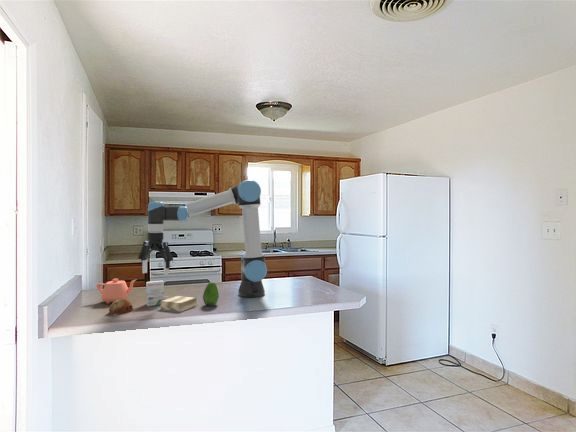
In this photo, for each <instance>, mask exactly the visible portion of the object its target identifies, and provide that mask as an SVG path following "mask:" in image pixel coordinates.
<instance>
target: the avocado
mask: <svg viewBox="0 0 576 432" xmlns="http://www.w3.org/2000/svg"><path fill="white" fill-rule="evenodd" d="M219 295H220V293H219V290H218V286H217V284H216V282H208V283H207V285H206V287H205V289H204V291H203V295H202V301H203V303H204V304H205V306H207V307H213V306H215V305H217V304H218V301H219V298H220V297H219Z"/></svg>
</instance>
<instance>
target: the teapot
mask: <svg viewBox="0 0 576 432" xmlns="http://www.w3.org/2000/svg"><path fill="white" fill-rule="evenodd" d="M137 280H138V279H132V280H131V281H130V283H129V287H128V285H127V283H126V281H125V280H119V278H113V279H112V280H110V281H107V282H105V283H102V282H100V283H96V288H97V290H98V291H99V292H100V294H101V299H102V301H103V302H105V304H107V305H111V304H112V303H113V302H114V301H116V300H118V299H124V300H127V299H128V297H129V295H130V294H131V293H132V291H133V289H134V283H135V282H136V281H137ZM102 286H103V289H102Z"/></svg>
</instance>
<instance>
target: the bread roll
mask: <svg viewBox="0 0 576 432" xmlns="http://www.w3.org/2000/svg"><path fill="white" fill-rule="evenodd" d="M109 305H110V306H109V308H108V311H109V312H108V313H109V314H110V315H113V314H118V315H119V314H128V313H130V312H132V311H133V310H134V308H133V307H134V305H133V303H131V302H130V301H128V300H127V299H126V300H124V299H118V300H116V301H114V302H111V303H110V304H109Z"/></svg>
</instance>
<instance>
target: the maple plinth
mask: <svg viewBox="0 0 576 432" xmlns="http://www.w3.org/2000/svg"><path fill="white" fill-rule="evenodd" d="M164 299H165V298H164ZM196 305H197V297H192V296H191V297H190V296H182V295H175V296H172V297H168V298H166V299H165V300H162V301H161V309H164V310H172V311H180V312H179V313H181V311H182V312H185V311H187V310H190V309H191V308H195V307H196ZM194 306H195V307H194Z"/></svg>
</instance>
